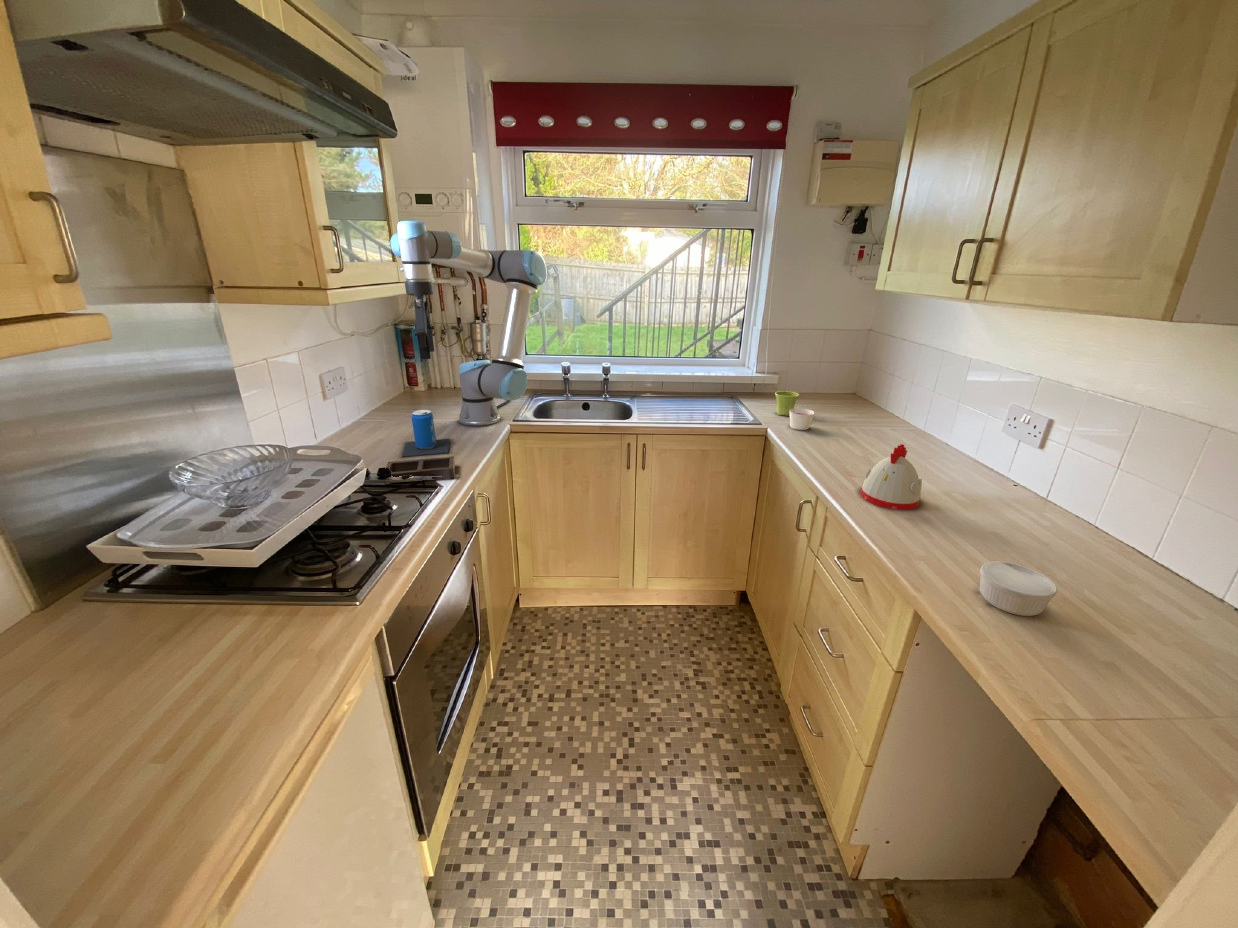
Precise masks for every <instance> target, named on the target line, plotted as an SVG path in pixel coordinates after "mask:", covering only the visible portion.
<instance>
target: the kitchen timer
mask: <svg viewBox="0 0 1238 928" xmlns="http://www.w3.org/2000/svg"><path fill="white" fill-rule="evenodd" d="M907 454H908V450H907V447H905V444H902V443H900V444H897V447H894V448H893V453H892V452H891V453H890V456H888V457H885V458H883V459H882V460H880V461H879V462H877V463H876V464H875V465H874V466H873V467H872V468H870V467H869V468H868V469H867V472H866V474H865V476H864V480H863V483H862V485H861V490H860V495H861V497H862V498H863V499H864V500H866V501H867V502H869V503H870V504H873V505H876V506H879V507H882V508H886V509H891V510H897V511H898V510H899V511H902V510H904V511H905V510H907V511H908V510H912V509H916V508H917V507H918V506H919V505H920V501H921V495H922V493H921V491H922V482H923V479H922V478H919V475H918V472H917V470H916V468H915V467H914V465H913V464H912V463H911V462H910V460H909V459H907V458H906V457H907Z"/></svg>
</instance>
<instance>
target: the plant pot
mask: <svg viewBox="0 0 1238 928" xmlns="http://www.w3.org/2000/svg"><path fill="white" fill-rule="evenodd" d="M774 395H775V399H776V414H777V415H779V416H786V417H788V416H789V417H790V415H789V410H790V409H794V408H795V407H796V406H795V405H796V403H797V399H798V397H799V396H800V394H799V393H798V392H795V391H787V390H781V391H776V392H775V393H774Z"/></svg>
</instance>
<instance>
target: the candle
mask: <svg viewBox="0 0 1238 928" xmlns="http://www.w3.org/2000/svg"><path fill="white" fill-rule="evenodd" d="M814 415H815V411H813V410H811V409H808V408H802V407H801V408H799V407H797V408H795V407H794V409H790V410H789V426H790V428H791V429H794V430H798V431H806V430H809V429H810V427H811V425H812V421H813V419H814Z"/></svg>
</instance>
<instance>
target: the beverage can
mask: <svg viewBox="0 0 1238 928" xmlns="http://www.w3.org/2000/svg"><path fill="white" fill-rule="evenodd" d="M411 413H412V414H411V423H412V430H413V437H414V441H415V444H416V447H418V448H419V449H423V450H425V449H431V448H433V447H434V446H435V445H436V440H437V439H436V438H437V437H436V431H435V421H434V414H433V413H432V411H431V410H430V409H418V410H414V411H412V412H411Z"/></svg>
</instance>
